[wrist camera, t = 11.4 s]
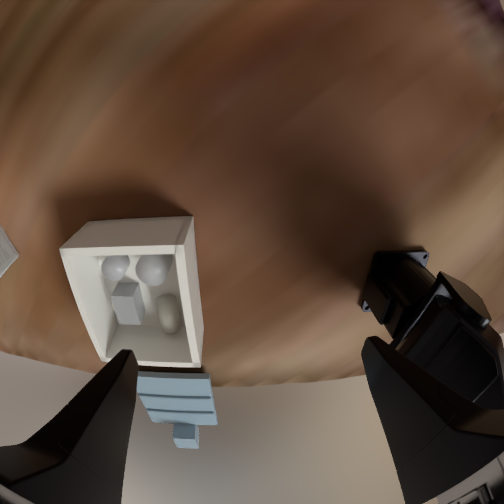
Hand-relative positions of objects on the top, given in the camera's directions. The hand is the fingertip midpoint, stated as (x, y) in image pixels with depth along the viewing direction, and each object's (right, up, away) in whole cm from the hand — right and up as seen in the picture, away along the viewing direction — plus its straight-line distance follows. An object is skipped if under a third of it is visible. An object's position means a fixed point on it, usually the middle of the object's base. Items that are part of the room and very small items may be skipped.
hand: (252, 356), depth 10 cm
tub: (-9, +1, +13) cm, 16 cm away
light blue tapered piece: (-9, -15, +22) cm, 28 cm away
